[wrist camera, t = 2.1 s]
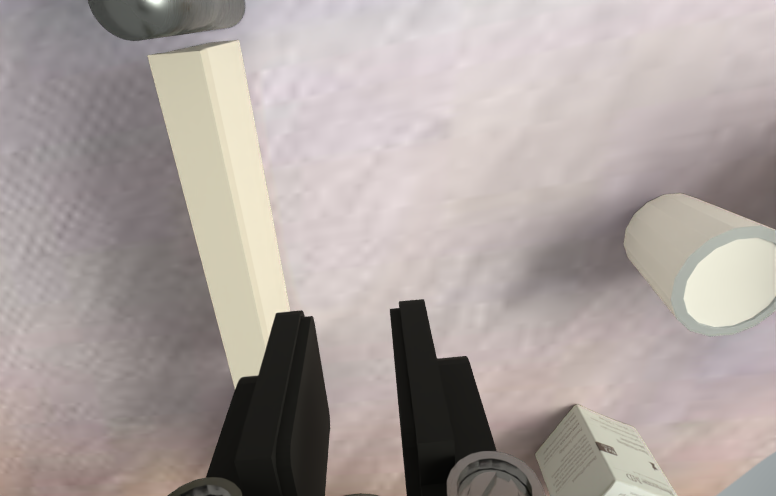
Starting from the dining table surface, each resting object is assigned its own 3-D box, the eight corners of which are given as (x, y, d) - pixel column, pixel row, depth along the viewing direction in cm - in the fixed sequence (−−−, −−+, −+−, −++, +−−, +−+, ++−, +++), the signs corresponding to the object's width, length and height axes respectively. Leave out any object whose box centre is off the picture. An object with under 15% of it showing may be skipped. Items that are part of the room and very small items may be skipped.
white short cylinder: (695, 282, 36) (767, 342, 29) (601, 274, 35) (654, 333, 29) (734, 189, 33) (824, 232, 26) (633, 178, 32) (700, 220, 26)
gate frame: (144, -251, 22) (-59, -494, 12) (198, -256, 22) (46, -503, 12) (293, 449, 40) (268, 611, 29) (324, 446, 40) (310, 607, 29)
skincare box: (635, 425, 41) (688, 506, 34) (591, 475, 43) (632, 560, 37) (573, 401, 40) (616, 480, 33) (531, 454, 42) (563, 538, 35)
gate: (208, 42, 27) (142, 56, 19) (245, 39, 27) (195, 51, 19) (273, 349, 36) (247, 450, 27) (302, 347, 36) (284, 447, 27)
